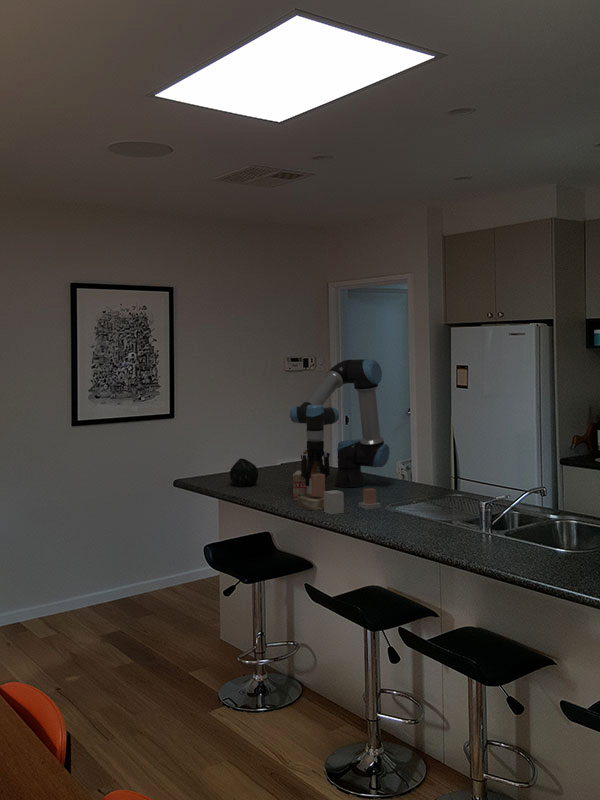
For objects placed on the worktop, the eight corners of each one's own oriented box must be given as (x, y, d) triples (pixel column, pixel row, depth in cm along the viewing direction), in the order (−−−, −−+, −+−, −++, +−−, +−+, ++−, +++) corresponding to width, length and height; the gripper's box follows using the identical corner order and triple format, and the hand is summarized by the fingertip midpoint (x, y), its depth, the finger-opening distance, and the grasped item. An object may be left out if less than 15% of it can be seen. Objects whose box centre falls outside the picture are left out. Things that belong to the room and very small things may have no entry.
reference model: (371, 505, 334) (371, 487, 334) (381, 508, 328) (380, 489, 328) (358, 507, 331) (358, 488, 331) (367, 509, 325) (367, 491, 324)
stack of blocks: (300, 492, 368) (300, 467, 367) (313, 492, 367) (313, 467, 366) (292, 501, 347) (292, 474, 346) (306, 501, 346) (306, 474, 345)
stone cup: (324, 479, 404) (324, 451, 403) (303, 480, 400) (303, 452, 399) (315, 474, 418) (314, 447, 417) (294, 476, 415) (294, 448, 414)
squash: (259, 471, 397) (240, 451, 393) (267, 477, 383) (247, 456, 379) (239, 490, 395) (220, 470, 390) (246, 496, 381) (227, 476, 376)
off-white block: (336, 511, 324) (335, 490, 323) (343, 513, 318) (343, 492, 318) (324, 512, 321) (323, 491, 320) (331, 515, 316) (331, 493, 315)
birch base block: (320, 502, 341) (320, 494, 341) (334, 507, 330) (334, 498, 330) (297, 505, 335) (297, 496, 335) (310, 510, 324) (310, 501, 324)
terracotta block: (318, 492, 336) (317, 472, 336) (325, 494, 331) (325, 474, 330) (306, 494, 333) (306, 473, 333) (313, 496, 328) (313, 475, 328)
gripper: (329, 437, 339) (329, 489, 340) (292, 440, 329) (292, 493, 331) (338, 439, 332) (338, 491, 334) (300, 442, 323) (301, 496, 324)
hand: (315, 492), depth 332 cm, fingers closed on terracotta block, 6 cm apart
